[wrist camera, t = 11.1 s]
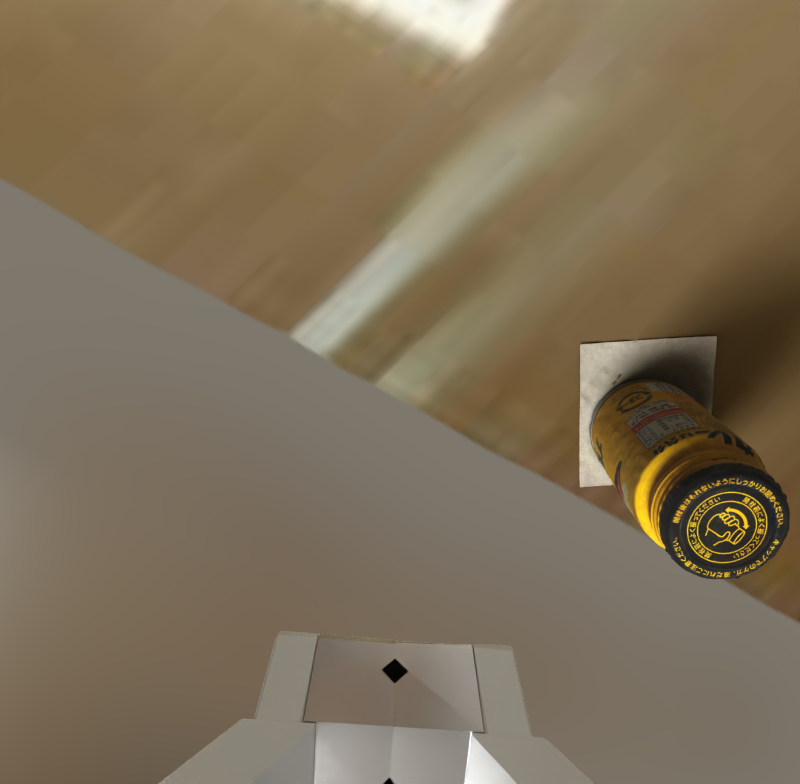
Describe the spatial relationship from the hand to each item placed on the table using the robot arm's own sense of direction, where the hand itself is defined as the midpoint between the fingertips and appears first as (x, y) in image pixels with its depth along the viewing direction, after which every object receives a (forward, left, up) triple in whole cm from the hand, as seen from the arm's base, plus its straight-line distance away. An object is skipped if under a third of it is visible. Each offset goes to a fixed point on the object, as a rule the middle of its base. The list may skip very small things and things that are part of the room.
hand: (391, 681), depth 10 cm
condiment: (-14, +6, -31) cm, 35 cm away
